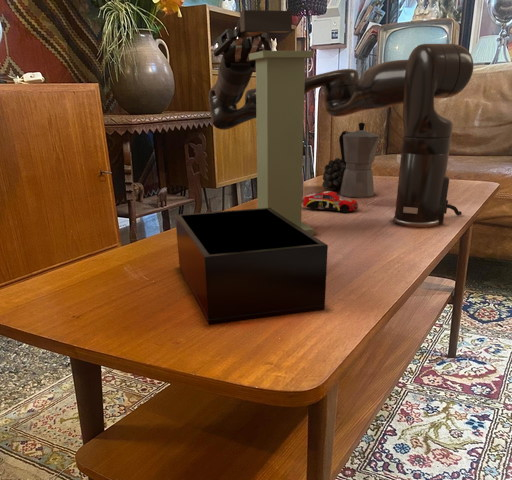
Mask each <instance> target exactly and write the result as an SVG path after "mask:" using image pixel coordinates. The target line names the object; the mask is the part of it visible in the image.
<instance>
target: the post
mask: <svg viewBox="0 0 512 480" xmlns="http://www.w3.org/2000/svg"><path fill="white" fill-rule="evenodd" d="M312 58H314V51H313V50H272V51H260V52H256V53H251V54H249V60H256V65H255V88H256V118H255V119H256V186H257V187H256V189H257V190H256V193H257V195H256V197H257V199H256V200H257V209H259V208H271V209H273V210H274V211H276V212H277V213H279V214H280V215H282V216H284V217H285V218H287V219H288V220H290V221H291V222H293V223H294V224H296V225H297V226H299V227H300V228H302V229H304V230H305V231H307V232H308V233H310V234H311V235H313V236H314V235H315V229H314V228H313V227H311V225H308V224H306V223H305V222H303V221H302V206H303V199H302V171H303V165H304V164H303V163H304V161H303V160H304V127H305V126H304V124H305V123H304V122H305V121H304V120H305V119H304V118H305V95H304V87H305V78H306V59H312Z"/></svg>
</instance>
